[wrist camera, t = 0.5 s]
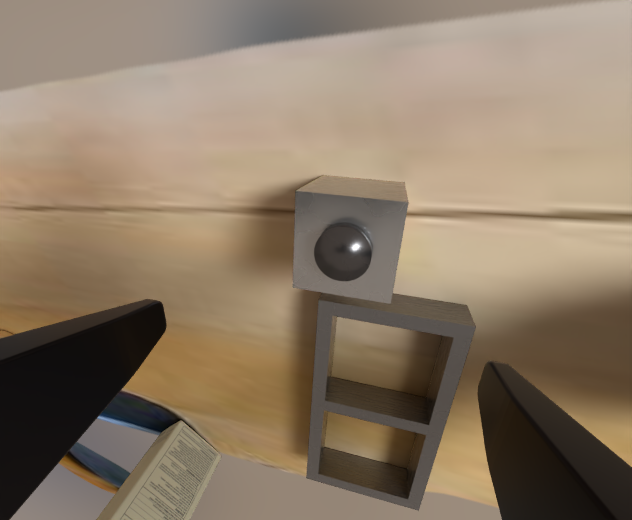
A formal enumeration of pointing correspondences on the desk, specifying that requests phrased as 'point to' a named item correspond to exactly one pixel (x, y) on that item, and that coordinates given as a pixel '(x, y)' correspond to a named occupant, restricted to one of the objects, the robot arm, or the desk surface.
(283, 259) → the desk surface
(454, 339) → the two-cubby grey shelf
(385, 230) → the knobbed drawer box
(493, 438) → the robot arm
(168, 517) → the skincare box
